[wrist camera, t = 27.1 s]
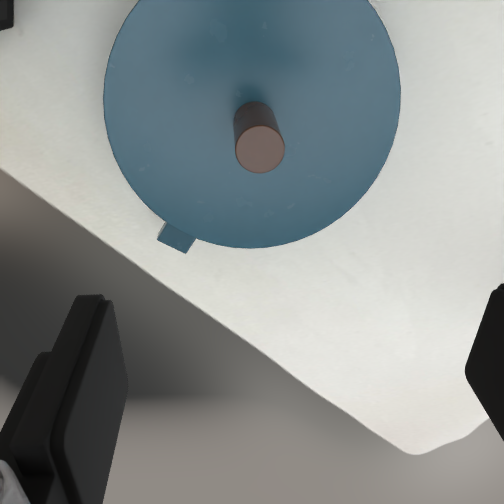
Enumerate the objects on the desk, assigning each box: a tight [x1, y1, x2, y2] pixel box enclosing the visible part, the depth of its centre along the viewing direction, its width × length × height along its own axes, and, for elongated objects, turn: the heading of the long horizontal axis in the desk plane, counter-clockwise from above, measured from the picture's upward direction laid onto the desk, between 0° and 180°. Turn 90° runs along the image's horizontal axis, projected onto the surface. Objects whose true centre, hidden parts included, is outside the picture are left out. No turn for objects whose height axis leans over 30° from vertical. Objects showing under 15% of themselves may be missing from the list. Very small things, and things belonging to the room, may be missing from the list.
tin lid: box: [103, 0, 401, 248], centre depth 26 cm, size 18×18×6 cm
